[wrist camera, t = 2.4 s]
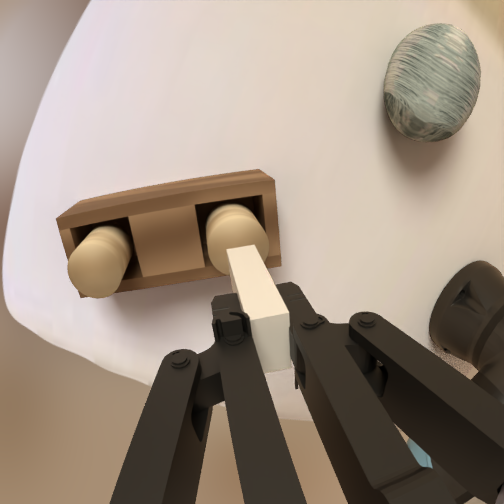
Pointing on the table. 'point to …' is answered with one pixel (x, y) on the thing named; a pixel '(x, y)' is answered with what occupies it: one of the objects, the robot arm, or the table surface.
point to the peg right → (233, 233)
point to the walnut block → (173, 225)
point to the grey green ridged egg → (432, 82)
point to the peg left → (101, 260)
